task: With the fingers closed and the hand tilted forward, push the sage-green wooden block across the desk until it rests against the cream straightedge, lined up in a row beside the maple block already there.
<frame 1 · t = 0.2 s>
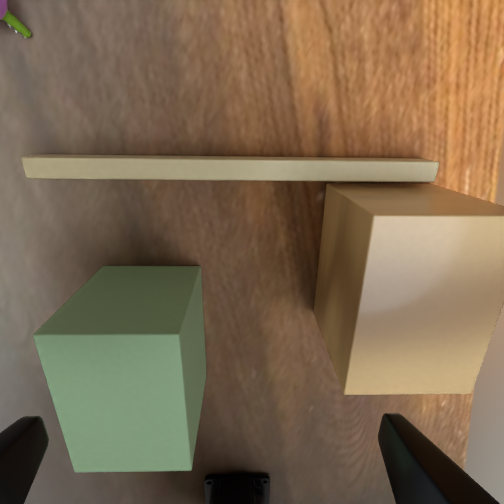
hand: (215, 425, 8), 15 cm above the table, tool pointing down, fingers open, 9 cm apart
green block: (159, 323, 24), on the table
maple block: (367, 253, 22), on the table
straightedge: (234, 166, 20), on the table
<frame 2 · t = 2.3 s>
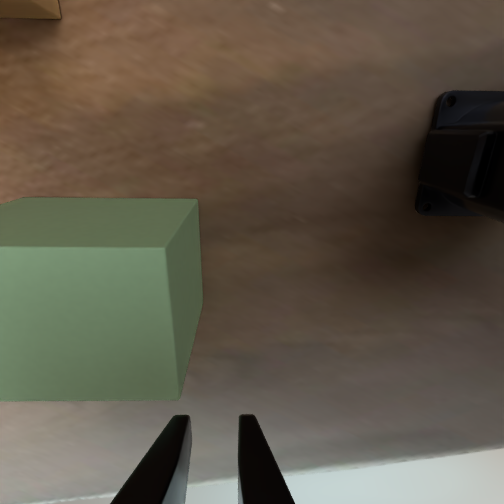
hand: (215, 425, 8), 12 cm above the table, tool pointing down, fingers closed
green block: (120, 253, 19), on the table
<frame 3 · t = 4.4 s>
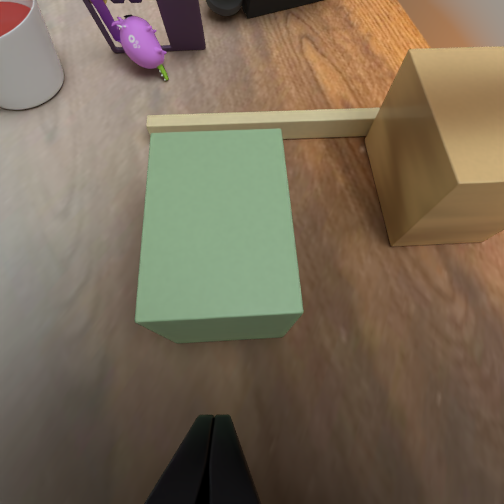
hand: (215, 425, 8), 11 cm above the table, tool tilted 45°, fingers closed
green block: (227, 268, 22), on the table
game card: (159, 67, 30), on the table
maple block: (419, 187, 25), on the table
candle: (28, 85, 29), on the table
straightedge: (293, 133, 27), on the table
character figurine: (275, 6, 34), on the table
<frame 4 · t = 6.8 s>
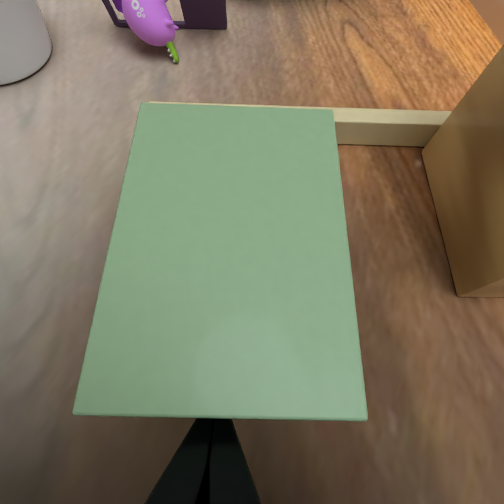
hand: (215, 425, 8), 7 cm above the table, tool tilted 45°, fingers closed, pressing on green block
green block: (236, 297, 17), on the table, touching gripper
game card: (169, 46, 25), on the table
maple block: (493, 218, 19), on the table
candle: (8, 58, 24), on the table
straightedge: (330, 137, 21), on the table
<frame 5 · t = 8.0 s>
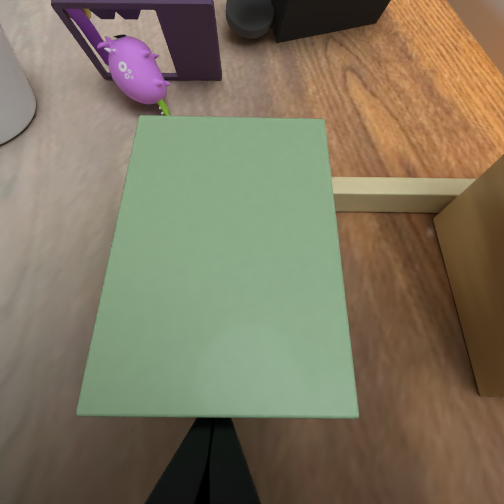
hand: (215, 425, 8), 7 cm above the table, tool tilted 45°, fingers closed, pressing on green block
green block: (235, 301, 17), on the table, touching gripper
game card: (161, 100, 23), on the table
straightedge: (334, 203, 20), on the table
character figurine: (312, 29, 27), on the table
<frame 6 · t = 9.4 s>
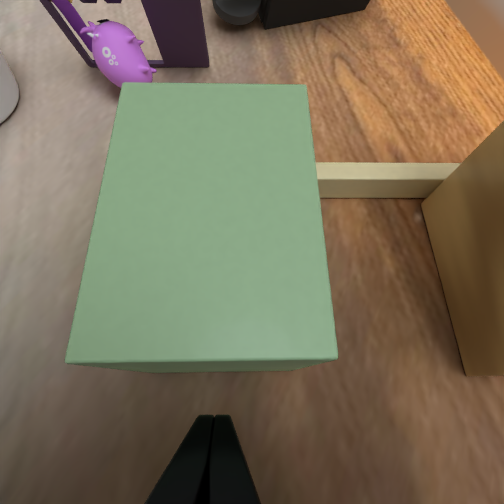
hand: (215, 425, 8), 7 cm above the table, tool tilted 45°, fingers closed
green block: (224, 275, 17), on the table, touching straightedge
game card: (148, 88, 23), on the table
maple block: (500, 280, 17), on the table
straightedge: (322, 190, 20), on the table
character figurine: (300, 15, 27), on the table
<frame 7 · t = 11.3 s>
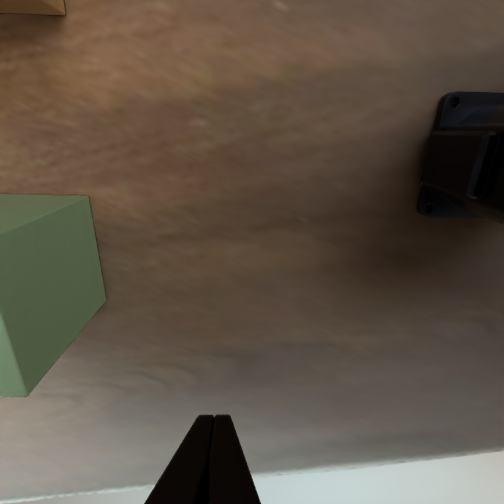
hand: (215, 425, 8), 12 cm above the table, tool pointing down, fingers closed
green block: (17, 249, 19), on the table, touching straightedge
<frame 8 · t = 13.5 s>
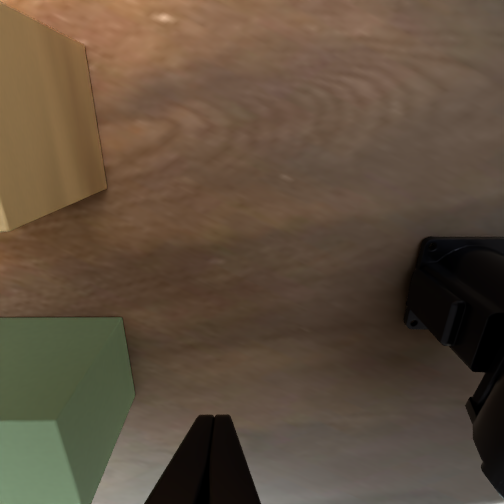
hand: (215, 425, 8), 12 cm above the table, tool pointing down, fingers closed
green block: (58, 358, 22), on the table, touching straightedge
maple block: (1, 121, 16), on the table
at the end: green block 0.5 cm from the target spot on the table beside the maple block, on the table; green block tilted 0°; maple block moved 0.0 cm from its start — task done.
